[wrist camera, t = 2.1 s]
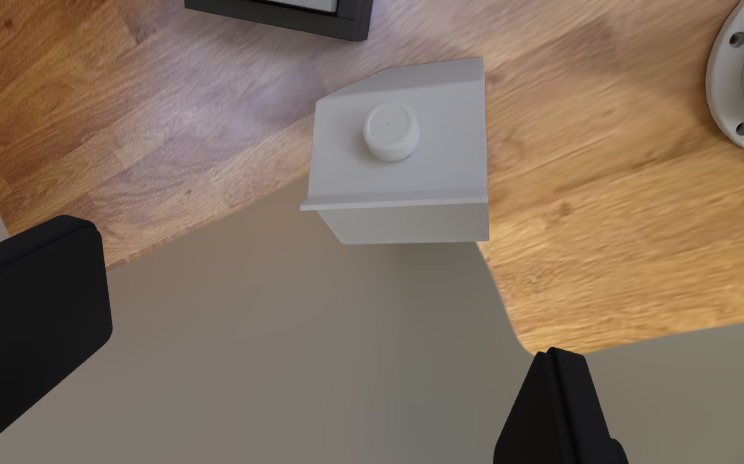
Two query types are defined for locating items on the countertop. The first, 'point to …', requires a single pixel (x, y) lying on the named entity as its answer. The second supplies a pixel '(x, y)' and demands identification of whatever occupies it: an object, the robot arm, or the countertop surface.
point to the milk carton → (403, 156)
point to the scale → (296, 16)
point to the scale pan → (313, 4)
